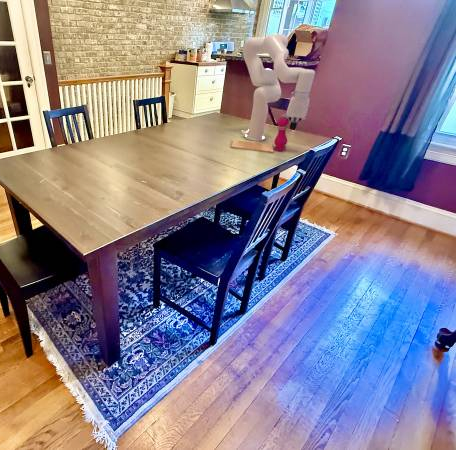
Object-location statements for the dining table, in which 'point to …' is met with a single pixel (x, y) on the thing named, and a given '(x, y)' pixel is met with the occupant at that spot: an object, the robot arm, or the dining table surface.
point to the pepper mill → (281, 134)
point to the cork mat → (252, 146)
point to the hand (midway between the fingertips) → (291, 129)
